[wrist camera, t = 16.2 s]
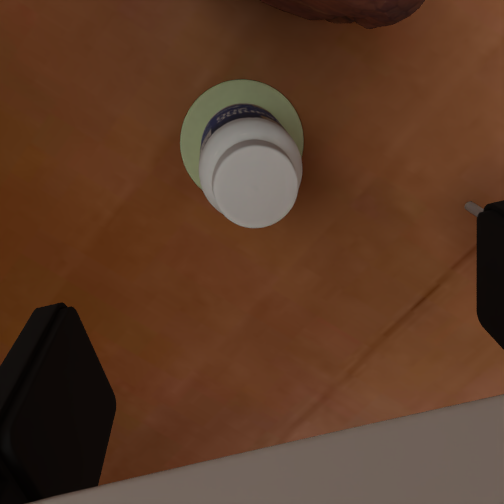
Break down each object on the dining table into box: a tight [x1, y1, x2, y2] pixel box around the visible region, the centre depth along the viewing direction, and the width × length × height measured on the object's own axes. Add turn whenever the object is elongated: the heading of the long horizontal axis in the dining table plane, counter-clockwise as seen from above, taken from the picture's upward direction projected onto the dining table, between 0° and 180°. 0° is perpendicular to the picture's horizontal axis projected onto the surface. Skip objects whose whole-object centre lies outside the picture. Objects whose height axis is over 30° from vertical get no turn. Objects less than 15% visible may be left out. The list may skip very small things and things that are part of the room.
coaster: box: [180, 79, 304, 189], centre depth 31 cm, size 8×8×1 cm
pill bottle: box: [199, 103, 302, 228], centre depth 26 cm, size 5×5×10 cm
